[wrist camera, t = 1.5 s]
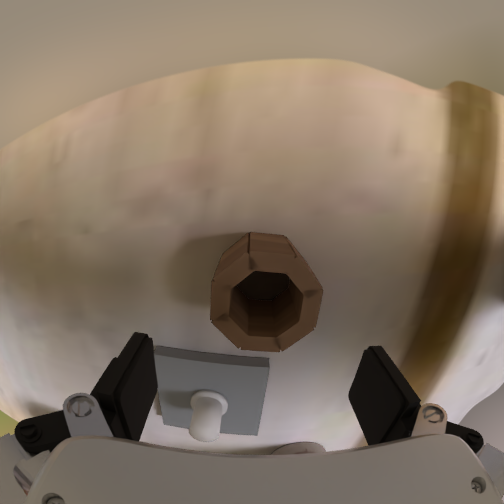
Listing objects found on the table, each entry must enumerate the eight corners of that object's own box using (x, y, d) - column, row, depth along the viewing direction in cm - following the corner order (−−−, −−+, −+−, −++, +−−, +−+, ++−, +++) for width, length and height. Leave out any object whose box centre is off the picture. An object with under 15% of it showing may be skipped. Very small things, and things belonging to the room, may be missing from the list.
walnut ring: (309, 237, 22) (328, 257, 16) (297, 314, 24) (309, 353, 18) (223, 229, 22) (213, 247, 16) (218, 308, 24) (209, 346, 18)
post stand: (268, 358, 25) (272, 400, 19) (257, 426, 28) (257, 465, 22) (157, 345, 25) (137, 383, 19) (166, 415, 28) (155, 452, 22)
